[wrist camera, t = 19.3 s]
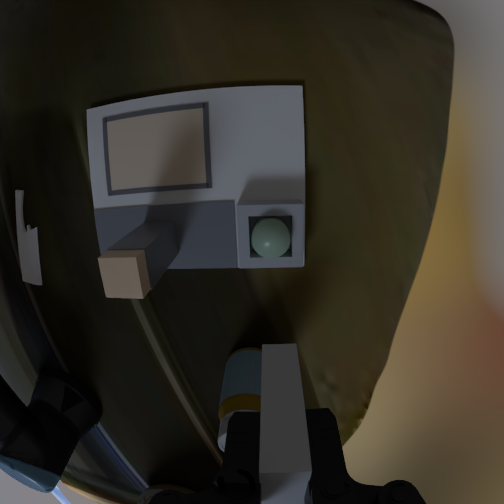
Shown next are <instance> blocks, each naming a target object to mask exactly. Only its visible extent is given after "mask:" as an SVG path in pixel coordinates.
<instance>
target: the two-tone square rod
mask: <svg viewBox="0 0 504 504" xmlns="http://www.w3.org/2000/svg"><path fill="white" fill-rule="evenodd" d="M178 253H179V252H178V243H177V234H176V224H175V221H165V222H145V223H143V224H141V225H140V226H138V227H137V228H136V229H134V230H133V231H131V232H130V233H129V234H127V235H126V236H124V237H123V238H122V239H120V240H119V241H117V242H116V243H115V244H113V245H112V246H111V247H109V248H108V249H107V251H106V252H105V253H104V254H102V255H101V256H100V257H98V262H99V267H100V272H101V276H102V281H103V285H104V290H105V294H106V297H109V298H139V299H143V298H144V297H145V296H146V294H147V293H148V292H149V290H152V289H153V287H154V286H155V285H156V283H157V282H158V280H159V279H160V278H161V276H162V275H163V274H164V272H165V271H166V270H167V268H168V267H169V266H170V264H171V263H172V261H173V260H174V259H175V257H176V256H177V255H178Z"/></svg>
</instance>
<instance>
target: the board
mask: <svg viewBox="0 0 504 504" xmlns="http://www.w3.org/2000/svg"><path fill="white" fill-rule="evenodd" d="M87 133H88V150H89V164H90V175H91V185H92V194H93V202H94V215H95V222H96V229H97V235H98V241H99V246H100V252H101V255H102V254H104V253H105V252H106V251H107V249H108V248H109V247H111V246H112V245H113V244H115V243H116V242H117V241H119V240H120V239H122V238H123V237H124V236H126V235H127V234H129V233H130V232H131V231H133V230H134V229H136V228H137V227H138V226H140V225H141V224H143V223H145V222H165V221H175V224H176V234H177V243H178V252H179V253H178V255H177V256H176V257H175V259H174V260H173V261H172V263H171V264H170V266H169V267H168V268H167V269H192V268H237V267H239V268H278V267H303V266H304V256H305V144H304V111H303V88H302V86H244V87H227V88H214V89H203V90H194V91H185V92H177V93H170V94H163V95H156V96H150V97H144V98H139V99H133V100H128V101H123V102H118V103H113V104H109V105H104V106H100V107H96V108H92V109H88V110H87ZM262 216H279V217H281V218H282V219H283V220H284V221H285V222H286V224H287V227H288V230H289V234H290V245H289V248H288V250H287V251H286V252H285V253H284V254H283V255H281V256H279V257H277V258H265V257H262V256H261V255H259V254H258V253H257V252H256V251H255V250H254V248H253V246H252V232H253V226H254V224H255V222H256V221H257V220H258V219H259V218H260V217H262Z"/></svg>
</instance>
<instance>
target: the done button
mask: <svg viewBox="0 0 504 504" xmlns="http://www.w3.org/2000/svg"><path fill="white" fill-rule="evenodd" d="M289 245H290V234H289V230H288V227H287V224H286V222H285V221H284V220H283V219H282V218H281V217H279V216H262V217H260V218H259V219H258V220H257V221H256V222H255V224H254V226H253V232H252V246H253V248H254V250H255V251H256V252H257V253H258V254H259V255H261V256H262V257H265V258H277V257H279V256H281V255H283V254H284V253H285V252H286V251H287V250H288V248H289Z"/></svg>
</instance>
